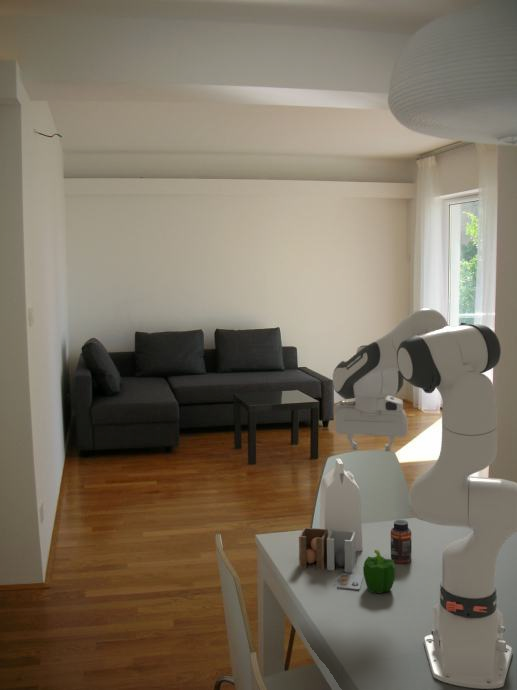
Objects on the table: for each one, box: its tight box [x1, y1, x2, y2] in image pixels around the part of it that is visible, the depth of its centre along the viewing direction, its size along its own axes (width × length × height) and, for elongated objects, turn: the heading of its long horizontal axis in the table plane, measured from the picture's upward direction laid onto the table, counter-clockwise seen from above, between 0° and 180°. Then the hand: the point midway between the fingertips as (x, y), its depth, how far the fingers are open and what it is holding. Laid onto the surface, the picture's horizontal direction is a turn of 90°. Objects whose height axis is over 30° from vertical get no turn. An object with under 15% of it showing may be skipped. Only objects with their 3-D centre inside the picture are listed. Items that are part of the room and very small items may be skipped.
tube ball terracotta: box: [306, 549, 317, 564], centre depth 203 cm, size 4×4×4 cm
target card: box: [336, 573, 364, 591], centre depth 190 cm, size 8×6×1 cm
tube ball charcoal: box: [334, 552, 345, 567], centre depth 200 cm, size 4×4×4 cm
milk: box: [319, 458, 364, 552], centre depth 215 cm, size 12×12×26 cm
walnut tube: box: [298, 527, 328, 570], centre depth 202 cm, size 7×7×9 cm
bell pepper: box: [362, 549, 396, 594], centre depth 185 cm, size 8×8×10 cm
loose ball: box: [311, 537, 320, 551], centre depth 203 cm, size 4×4×4 cm
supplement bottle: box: [390, 519, 413, 564], centre depth 203 cm, size 6×6×11 cm
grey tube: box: [326, 530, 357, 573], centre depth 200 cm, size 7×7×9 cm
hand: (371, 450), depth 198 cm, fingers open, 8 cm apart
